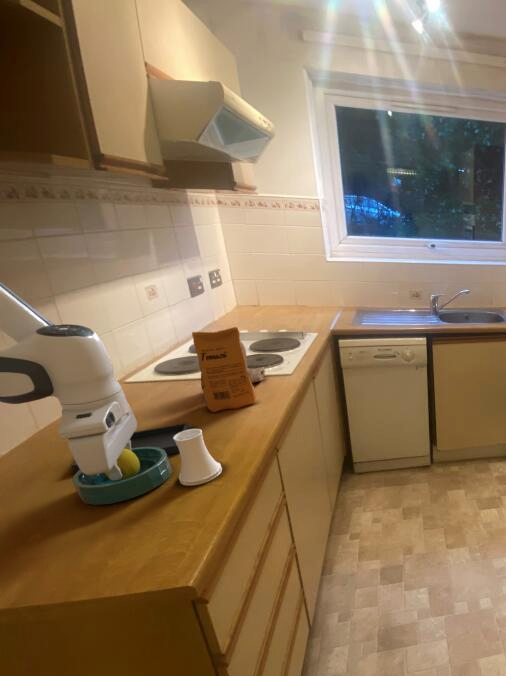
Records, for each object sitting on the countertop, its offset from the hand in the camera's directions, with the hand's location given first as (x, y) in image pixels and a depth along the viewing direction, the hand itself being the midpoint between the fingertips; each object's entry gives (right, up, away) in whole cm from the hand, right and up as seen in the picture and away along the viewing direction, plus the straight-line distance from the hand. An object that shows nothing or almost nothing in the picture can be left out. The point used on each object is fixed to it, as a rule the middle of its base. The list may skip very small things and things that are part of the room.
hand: (123, 469), depth 88 cm
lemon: (0, -3, +1) cm, 3 cm away
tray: (-9, +2, +14) cm, 17 cm away
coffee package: (-1, +12, +37) cm, 39 cm away
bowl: (0, -3, +1) cm, 4 cm away
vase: (+13, -2, +4) cm, 14 cm away
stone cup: (-7, +17, +50) cm, 53 cm away
